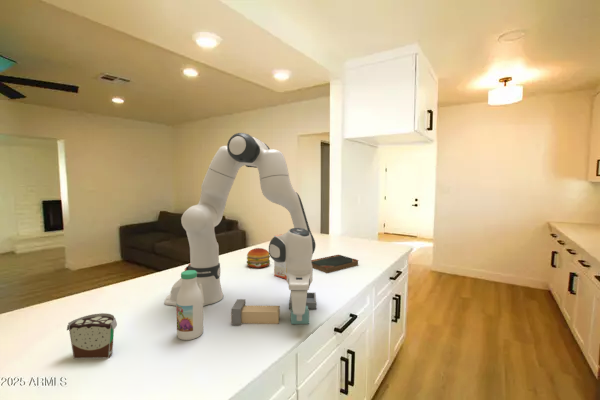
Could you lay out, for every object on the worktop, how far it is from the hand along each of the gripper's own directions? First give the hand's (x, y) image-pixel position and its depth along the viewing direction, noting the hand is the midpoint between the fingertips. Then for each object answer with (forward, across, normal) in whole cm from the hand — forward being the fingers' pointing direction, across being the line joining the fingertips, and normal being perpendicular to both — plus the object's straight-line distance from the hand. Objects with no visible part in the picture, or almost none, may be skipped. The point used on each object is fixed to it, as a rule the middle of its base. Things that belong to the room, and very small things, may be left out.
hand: (299, 315), depth 101 cm
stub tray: (+2, -14, +1) cm, 14 cm away
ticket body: (+2, 0, -15) cm, 15 cm away
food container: (+2, +20, -56) cm, 60 cm away
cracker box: (+2, -45, -7) cm, 46 cm away
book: (+3, -66, +17) cm, 69 cm away
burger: (+2, -65, -25) cm, 70 cm away
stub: (+2, 0, 0) cm, 2 cm away
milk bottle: (+2, +10, -34) cm, 36 cm away
